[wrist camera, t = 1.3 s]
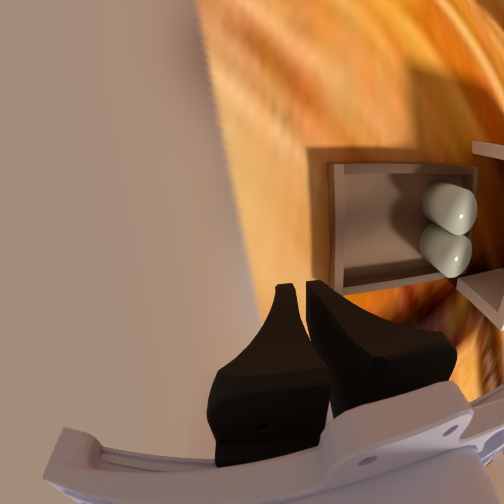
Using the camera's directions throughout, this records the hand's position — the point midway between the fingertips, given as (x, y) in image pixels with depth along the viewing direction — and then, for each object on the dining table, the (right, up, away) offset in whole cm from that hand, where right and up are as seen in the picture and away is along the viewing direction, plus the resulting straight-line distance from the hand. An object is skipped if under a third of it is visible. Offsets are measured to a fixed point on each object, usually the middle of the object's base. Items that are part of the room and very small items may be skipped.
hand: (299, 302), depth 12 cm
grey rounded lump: (+14, +6, +8) cm, 17 cm away
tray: (+11, +5, +9) cm, 15 cm away
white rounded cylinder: (+14, +3, +9) cm, 17 cm away
